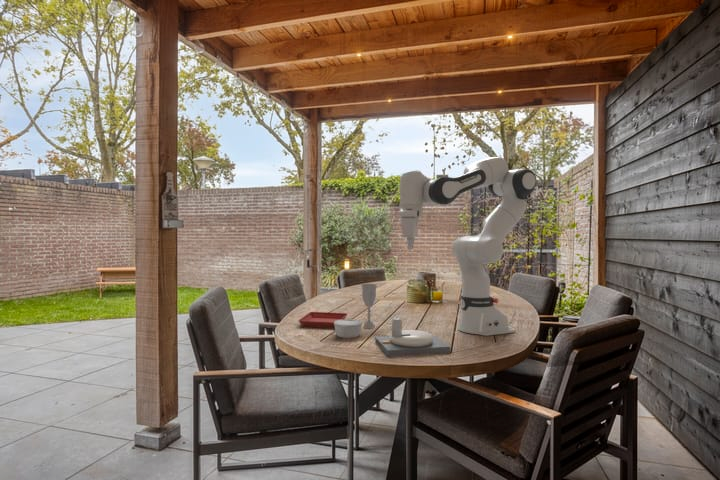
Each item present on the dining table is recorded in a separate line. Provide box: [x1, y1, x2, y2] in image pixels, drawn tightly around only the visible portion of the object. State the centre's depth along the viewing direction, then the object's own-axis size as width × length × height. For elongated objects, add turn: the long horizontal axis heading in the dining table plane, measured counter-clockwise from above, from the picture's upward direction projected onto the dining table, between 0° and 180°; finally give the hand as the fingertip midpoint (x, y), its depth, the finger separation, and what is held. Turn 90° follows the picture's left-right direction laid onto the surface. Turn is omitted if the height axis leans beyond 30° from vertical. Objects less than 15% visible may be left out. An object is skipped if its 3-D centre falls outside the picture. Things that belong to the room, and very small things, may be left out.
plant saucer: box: [298, 311, 348, 329], centre depth 182 cm, size 18×18×3 cm
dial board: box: [374, 334, 451, 357], centre depth 146 cm, size 22×17×3 cm
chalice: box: [360, 283, 378, 329], centre depth 175 cm, size 7×7×18 cm
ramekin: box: [334, 318, 363, 339], centre depth 162 cm, size 11×11×5 cm
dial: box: [389, 317, 434, 347], centre depth 145 cm, size 15×15×8 cm
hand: (410, 249), depth 158 cm, fingers closed
